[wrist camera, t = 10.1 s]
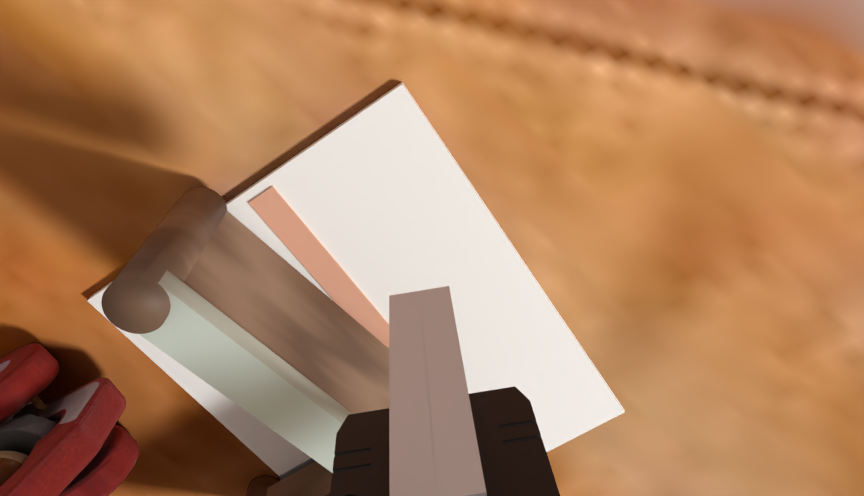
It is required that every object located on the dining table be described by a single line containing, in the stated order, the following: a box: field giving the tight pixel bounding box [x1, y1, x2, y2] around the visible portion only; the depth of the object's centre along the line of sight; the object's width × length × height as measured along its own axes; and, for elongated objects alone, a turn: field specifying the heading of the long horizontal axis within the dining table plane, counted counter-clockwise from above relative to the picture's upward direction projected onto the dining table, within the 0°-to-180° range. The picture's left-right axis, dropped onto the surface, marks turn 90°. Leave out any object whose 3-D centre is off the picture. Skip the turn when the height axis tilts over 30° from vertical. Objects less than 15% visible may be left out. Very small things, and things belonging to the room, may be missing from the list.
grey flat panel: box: [101, 187, 389, 473], centre depth 23 cm, size 13×2×7 cm, turn 42°
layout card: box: [87, 82, 625, 480], centre depth 29 cm, size 16×19×1 cm
